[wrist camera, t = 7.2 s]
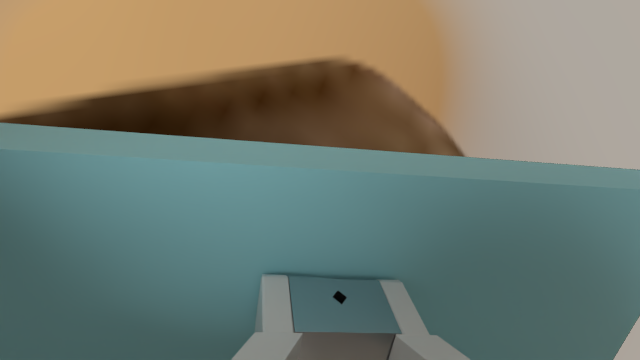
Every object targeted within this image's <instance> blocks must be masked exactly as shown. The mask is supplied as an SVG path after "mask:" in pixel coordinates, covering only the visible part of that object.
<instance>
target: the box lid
mask: <svg viewBox="0 0 640 360" xmlns="http://www.w3.org/2000/svg"><path fill="white" fill-rule="evenodd" d="M262 274H274V275H286V276H287V275H293V276H308V277H323V278H334V279H357V280H376V279H381V280H399V281H401V282H402V283H403V285H404V287H405V289H406V291H407V293H408V295H409V296H410V298H411V300H412V302H413V304H414V306H415V308H416V310H417V312H418V313H419V315H420V317H421V319H422V321H423V323H424V325H425V327H426V329H427V331H428V332H429V334H430V335H437V336H439V337H440V338H441V339H443V340H444V341H445V342H447V343H448V344H450V345H451V346H452V347H454V348H455V349H457V350H458V351H459V352H461V353H462V354H463V355H465V356H466V357H468V358H469V359H470V360H613V359H614V357H615V356H616V354H617V352H618V351H619V349H620V347H621V346H622V344H623V342H624V341H625V339H626V337H627V336H628V334H629V332H630V331H631V329H632V327H633V326H634V324H635V322H636V321H637V319H638V318H639V316H640V170H635V169H621V168H608V167H594V166H581V165H567V164H554V163H539V162H526V161H513V160H498V159H485V158H471V157H458V156H445V155H431V154H418V153H404V152H391V151H377V150H363V149H350V148H336V147H323V146H309V145H296V144H282V143H268V142H255V141H241V140H228V139H214V138H200V137H187V136H173V135H160V134H146V133H133V132H119V131H105V130H92V129H78V128H65V127H51V126H38V125H24V124H10V123H0V360H231V359H232V358H233V357H234V356H235V355H236V353H237V352H238V351H239V350H240V349H241V348H242V346H243V345H244V344H245V343H246V342H247V341H248V340H249V338H250V337H251V336H252V335H253V334H254V333H255V322H256V313H257V305H258V297H259V289H260V281H261V277H262Z"/></svg>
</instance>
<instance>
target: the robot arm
mask: <svg viewBox="0 0 640 360" xmlns="http://www.w3.org/2000/svg"><path fill="white" fill-rule="evenodd" d="M231 360H470V359H469V358H468V357H466V356H465V355H463V354H462V353H461V352H459V351H458V350H457V349H455V348H454V347H452V346H451V345H450V344H448V343H447V342H445V341H444V340H443V339H441V338H440V337H439V336H437V335H430V334H429V332H428V331H427V329H426V327H425V325H424V323H423V321H422V319H421V317H420V315H419V313H418V312H417V310H416V308H415V306H414V304H413V302H412V300H411V298H410V296H409V295H408V293H407V291H406V289H405V287H404V285H403V283H402V282H401V281H399V280H381V279H376V280H357V279H334V278H323V277H308V276H293V275H287V276H286V275H274V274H262V277H261V281H260V289H259V297H258V305H257V313H256V322H255V333H254V334H253V335H252V336H251V337H250V338H249V340H248V341H247V342H246V343H245V344H244V345H243V346H242V348H241V349H240V350H239V351H238V352H237V353H236V355H235V356H234V357H233V358H232V359H231Z"/></svg>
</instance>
